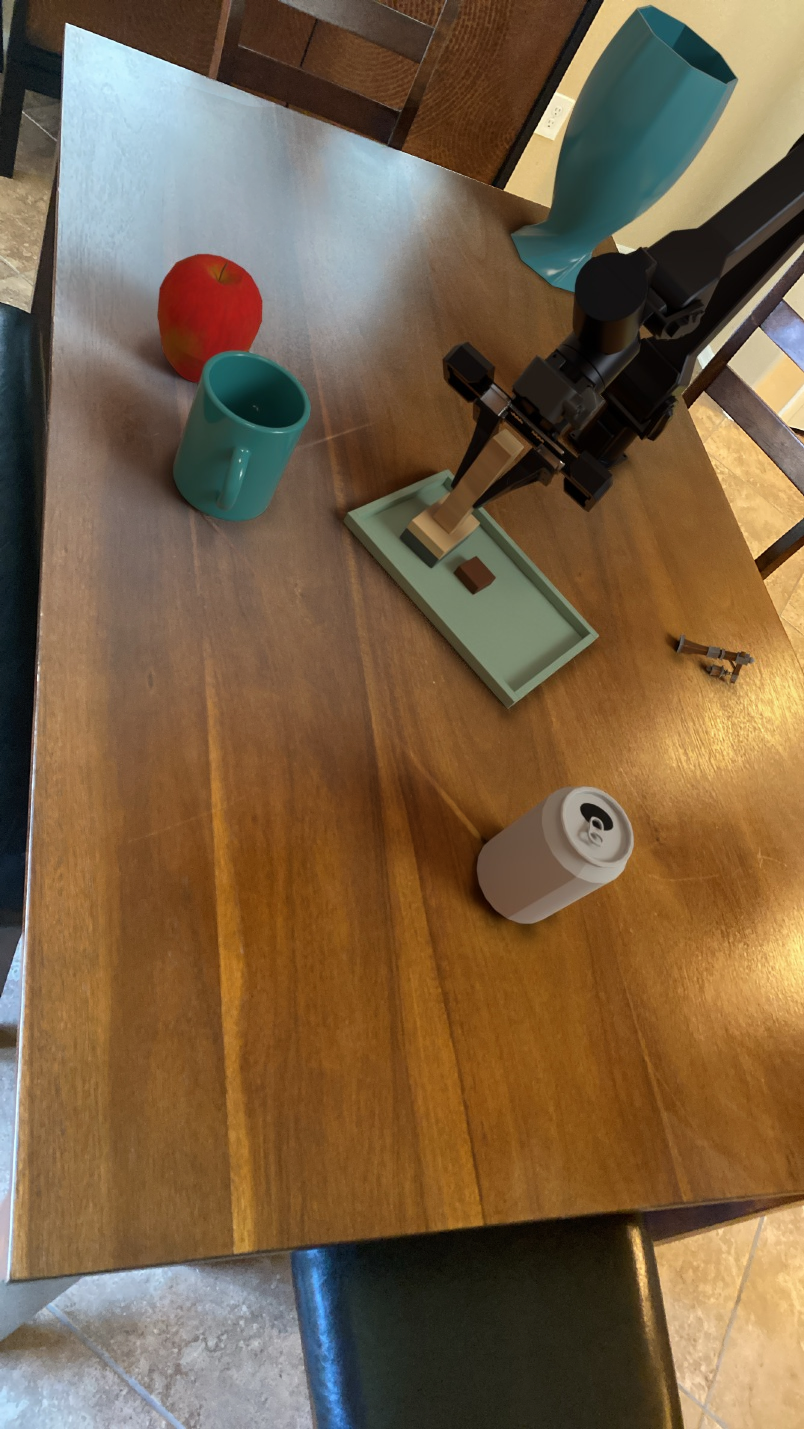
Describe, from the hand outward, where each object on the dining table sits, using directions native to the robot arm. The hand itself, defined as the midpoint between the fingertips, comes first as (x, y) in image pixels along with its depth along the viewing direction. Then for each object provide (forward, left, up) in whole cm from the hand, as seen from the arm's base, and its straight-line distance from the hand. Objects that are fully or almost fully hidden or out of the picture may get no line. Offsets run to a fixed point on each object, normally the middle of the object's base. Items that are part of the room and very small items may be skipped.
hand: (462, 498), depth 80 cm
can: (+19, +29, -8) cm, 35 cm away
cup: (+16, -13, -8) cm, 22 cm away
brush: (-1, 0, -7) cm, 7 cm away
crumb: (-2, +5, -7) cm, 9 cm away
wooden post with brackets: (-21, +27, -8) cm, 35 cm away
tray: (-1, +6, -8) cm, 10 cm away
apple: (+8, -27, -8) cm, 30 cm away
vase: (-64, -31, -8) cm, 72 cm away
